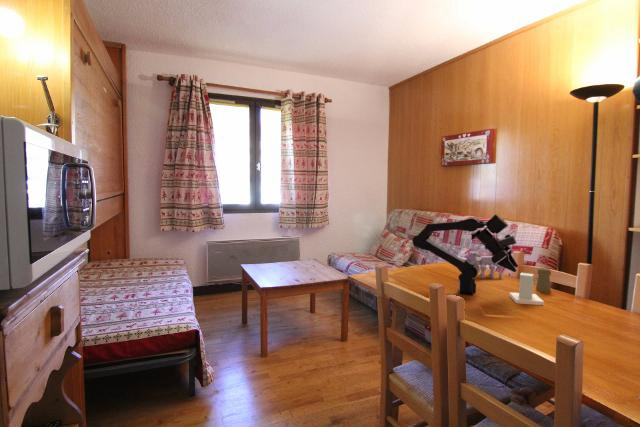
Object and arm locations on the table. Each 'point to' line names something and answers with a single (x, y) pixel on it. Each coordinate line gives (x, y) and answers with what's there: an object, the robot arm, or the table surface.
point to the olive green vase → (543, 280)
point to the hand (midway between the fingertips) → (516, 269)
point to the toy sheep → (484, 263)
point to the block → (526, 285)
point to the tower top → (534, 300)
